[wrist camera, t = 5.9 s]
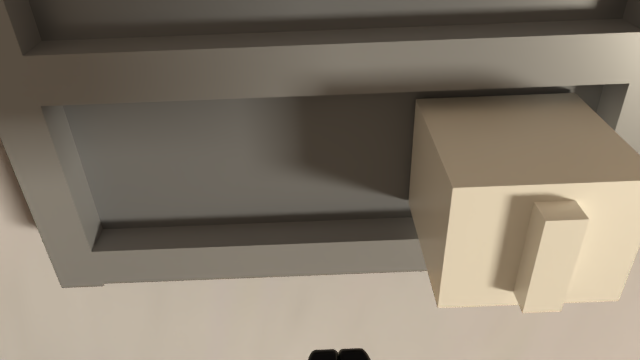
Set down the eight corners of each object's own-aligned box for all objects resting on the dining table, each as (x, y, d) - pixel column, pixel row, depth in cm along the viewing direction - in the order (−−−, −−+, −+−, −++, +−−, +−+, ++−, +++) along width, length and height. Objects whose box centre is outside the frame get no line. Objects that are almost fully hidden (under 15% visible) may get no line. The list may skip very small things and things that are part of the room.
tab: (549, 197, 15) (632, 321, 11) (408, 202, 15) (443, 328, 11) (574, 92, 13) (684, 198, 9) (416, 99, 13) (461, 206, 9)
